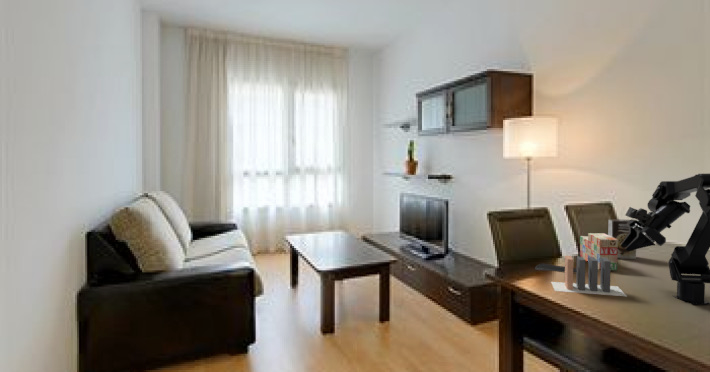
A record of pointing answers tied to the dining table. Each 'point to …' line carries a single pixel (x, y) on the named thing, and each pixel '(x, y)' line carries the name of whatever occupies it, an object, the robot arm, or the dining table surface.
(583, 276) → the domino
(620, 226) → the coffee box
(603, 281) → the domino
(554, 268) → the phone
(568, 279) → the terracotta domino
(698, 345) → the dining table surface
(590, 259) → the domino
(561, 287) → the white mat
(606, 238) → the stack of blocks
